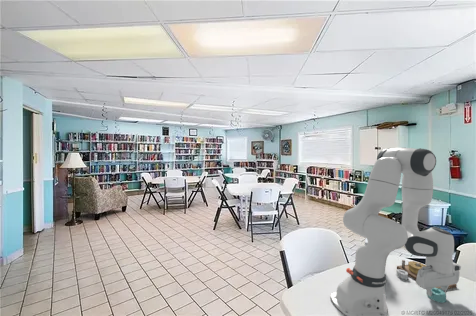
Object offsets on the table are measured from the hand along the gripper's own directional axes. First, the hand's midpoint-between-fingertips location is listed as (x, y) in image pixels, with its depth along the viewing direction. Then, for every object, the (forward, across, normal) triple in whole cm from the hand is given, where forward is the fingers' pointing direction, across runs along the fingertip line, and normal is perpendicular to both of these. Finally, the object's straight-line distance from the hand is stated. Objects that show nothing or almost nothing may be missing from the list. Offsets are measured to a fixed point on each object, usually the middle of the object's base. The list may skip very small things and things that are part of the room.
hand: (436, 294), depth 99 cm
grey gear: (+2, 0, +16) cm, 16 cm away
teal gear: (+2, 0, 0) cm, 2 cm away
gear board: (+2, +11, +13) cm, 17 cm away
